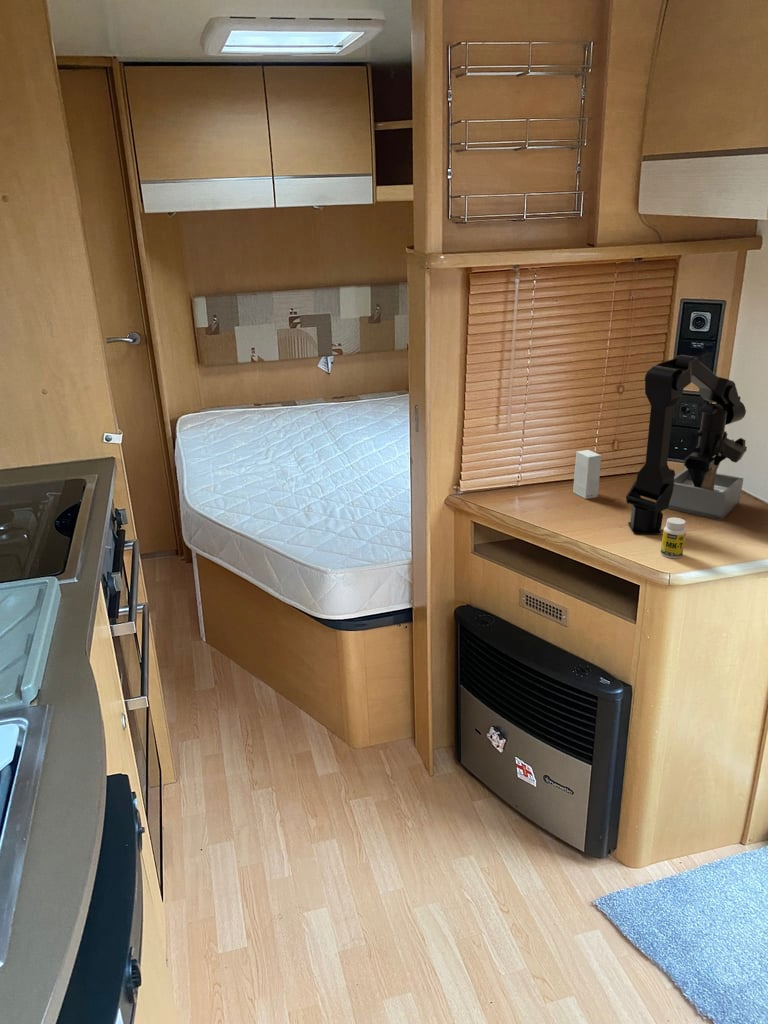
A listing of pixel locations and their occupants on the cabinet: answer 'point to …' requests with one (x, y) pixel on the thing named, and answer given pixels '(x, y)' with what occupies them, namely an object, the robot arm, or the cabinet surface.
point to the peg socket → (706, 495)
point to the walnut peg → (710, 478)
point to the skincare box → (587, 474)
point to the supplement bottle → (673, 538)
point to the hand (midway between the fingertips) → (703, 485)
